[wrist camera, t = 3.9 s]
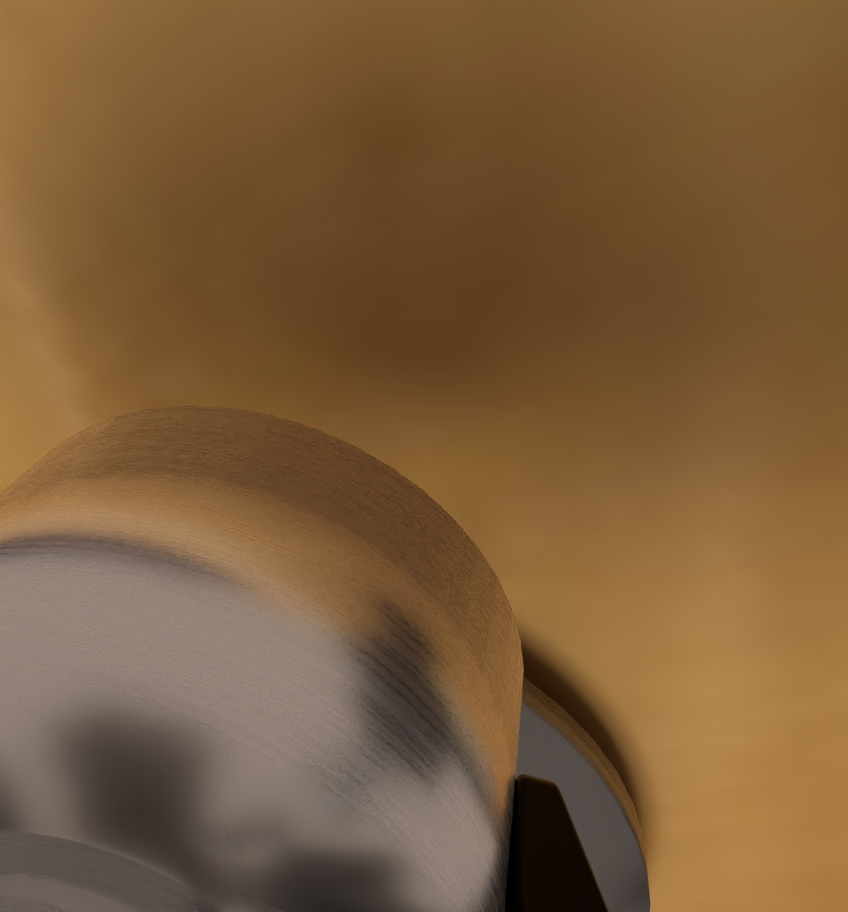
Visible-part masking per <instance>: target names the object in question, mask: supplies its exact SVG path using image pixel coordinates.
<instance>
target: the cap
mask: <svg viewBox="0 0 848 912" xmlns="http://www.w3.org/2000/svg"><path fill="white" fill-rule="evenodd" d="M523 670H524V666H523V658H522V649H521V641H520V636H519V632H518V629H517V625H516V622H515V618H514V615H513V612H512V608H511V606H510V604H509V601H508V599H507V597H506V595H505V593H504V591H503V588H502V586H501V584H500V582H499V580H498V578H497V576H496V574H495V573H494V571H493V570H492V568H491V567H490V565H489V564H488V562H487V561H486V559H485V557H484V556H483V554H482V553H481V551H480V550H479V548H478V547H477V545H476V544H475V543H474V542H473V541H472V540H471V538H470V537H469V536H468V535H467V534H466V533H465V531H464V530H463V529H462V528H461V527H460V525H459V524H458V523H457V522H456V521H455V520H454V518H453V517H452V516H451V515H449V514H448V513H447V512H446V511H445V510H444V509H443V508H442V507H441V506H440V505H439V504H438V503H436V502H435V501H434V500H433V499H432V498H431V497H430V496H429V495H428V494H427V493H426V492H425V491H423V490H422V489H421V488H419V487H418V486H417V485H415V484H414V483H412V482H411V481H410V480H408V479H407V478H406V477H404V476H403V475H401V474H400V473H399V472H397V471H396V470H395V469H393V468H392V467H390V466H389V465H387V464H385V463H384V462H382V461H380V460H378V459H376V458H375V457H373V456H371V455H369V454H368V453H366V452H364V451H362V450H361V449H359V448H357V447H355V446H354V445H351V444H349V443H347V442H344V441H342V440H340V439H337V438H335V437H333V436H330V435H328V434H326V433H323V432H321V431H319V430H316V429H314V428H311V427H308V426H304V425H301V424H298V423H294V422H291V421H288V420H285V419H281V418H278V417H275V416H270V415H265V414H259V413H254V412H248V411H243V410H237V409H231V408H214V407H196V406H188V407H174V408H160V409H151V410H146V411H141V412H137V413H132V414H127V415H122V416H118V417H115V418H113V419H110V420H107V421H105V422H102V423H99V424H97V425H94V426H91V427H89V428H86V429H84V430H83V431H81V432H79V433H77V434H76V435H74V436H72V437H71V438H69V439H67V440H65V441H64V442H62V443H60V444H59V445H57V446H56V447H55V448H54V449H53V450H51V451H50V452H49V453H48V454H47V455H45V456H44V457H43V458H42V459H41V460H39V461H38V462H37V463H36V464H35V465H33V466H32V467H31V468H30V469H29V470H27V471H26V472H25V473H24V474H23V475H21V476H20V477H19V478H18V479H17V480H15V481H14V482H13V483H12V484H11V485H9V486H8V487H7V488H6V489H5V490H3V491H2V492H1V493H0V912H505V904H506V892H507V879H508V866H509V854H510V841H511V829H512V816H513V804H514V791H515V778H516V766H517V753H518V741H519V728H520V716H521V703H522V688H523Z"/></svg>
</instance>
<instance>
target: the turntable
mask: <svg viewBox="0 0 848 912" xmlns="http://www.w3.org/2000/svg"><path fill="white" fill-rule="evenodd" d="M521 774H526V775H530V776H534V777H537V778H541V779H545V780H549V781H552V782H554V783H555V784H556V785H557V786H558V788H559V789H560V792H561V794H562V796H563V799H564V801H565V804H566V806H567V809H568V811H569V813H570V816H571V818H572V821H573V823H574V826H575V828H576V831H577V833H578V836H579V838H580V841H581V843H582V846H583V848H584V851H585V853H586V856H587V858H588V860H589V863H590V865H591V868H592V870H593V873H594V875H595V878H596V880H597V883H598V885H599V888H600V890H601V893H602V895H603V898H604V900H605V902H606V905H607V907H608V910H609V912H650V896H649V884H648V872H647V861H646V852H645V843H644V835H643V832H642V828H641V825H640V822H639V819H638V816H637V813H636V809H635V806H634V803H633V801H632V799H631V798H630V796H629V794H628V792H627V790H626V788H625V786H624V784H623V782H622V780H621V778H620V776H619V774H618V773H617V771H616V770H615V768H614V767H613V765H612V764H611V763H610V761H609V760H608V759H607V757H606V756H605V755H604V753H603V752H602V750H601V749H600V748H599V746H598V745H597V744H596V742H595V741H594V740H593V739H592V737H591V736H590V735H589V734H588V733H587V732H586V731H585V730H584V729H583V728H582V727H581V726H580V725H579V724H578V723H577V722H576V721H575V720H574V719H573V718H572V717H571V716H570V715H569V714H568V713H567V712H566V711H565V710H564V709H563V708H562V707H561V706H560V705H558V704H557V703H556V702H555V701H553V700H552V699H551V698H550V697H549V696H547V695H546V694H545V693H544V692H542V691H541V690H540V689H539V688H537V687H536V686H535V685H534V684H532V683H531V682H530V681H529V680H527V679H526V678H524V677H523V688H522V703H521V716H520V728H519V741H518V753H517V766H516V778H517V777H518V776H519V775H521ZM516 778H515V779H516Z"/></svg>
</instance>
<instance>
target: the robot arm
mask: <svg viewBox="0 0 848 912" xmlns="http://www.w3.org/2000/svg"><path fill="white" fill-rule="evenodd" d="M505 912H609V910H608V907H607V905H606V902H605V900H604V898H603V895H602V893H601V890H600V888H599V885H598V883H597V880H596V878H595V875H594V873H593V870H592V868H591V865H590V863H589V860H588V858H587V856H586V853H585V851H584V848H583V846H582V843H581V841H580V838H579V836H578V833H577V831H576V828H575V826H574V823H573V821H572V818H571V816H570V813H569V811H568V809H567V806H566V804H565V801H564V799H563V796H562V794H561V792H560V789H559V788H558V786H557V785H556V784H555V783H554V782H552V781H549V780H545V779H541V778H537V777H534V776H530V775H526V774H521V775H519V776H518V777H517V778H516V779H515V791H514V804H513V816H512V829H511V841H510V854H509V866H508V879H507V892H506V904H505Z"/></svg>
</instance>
